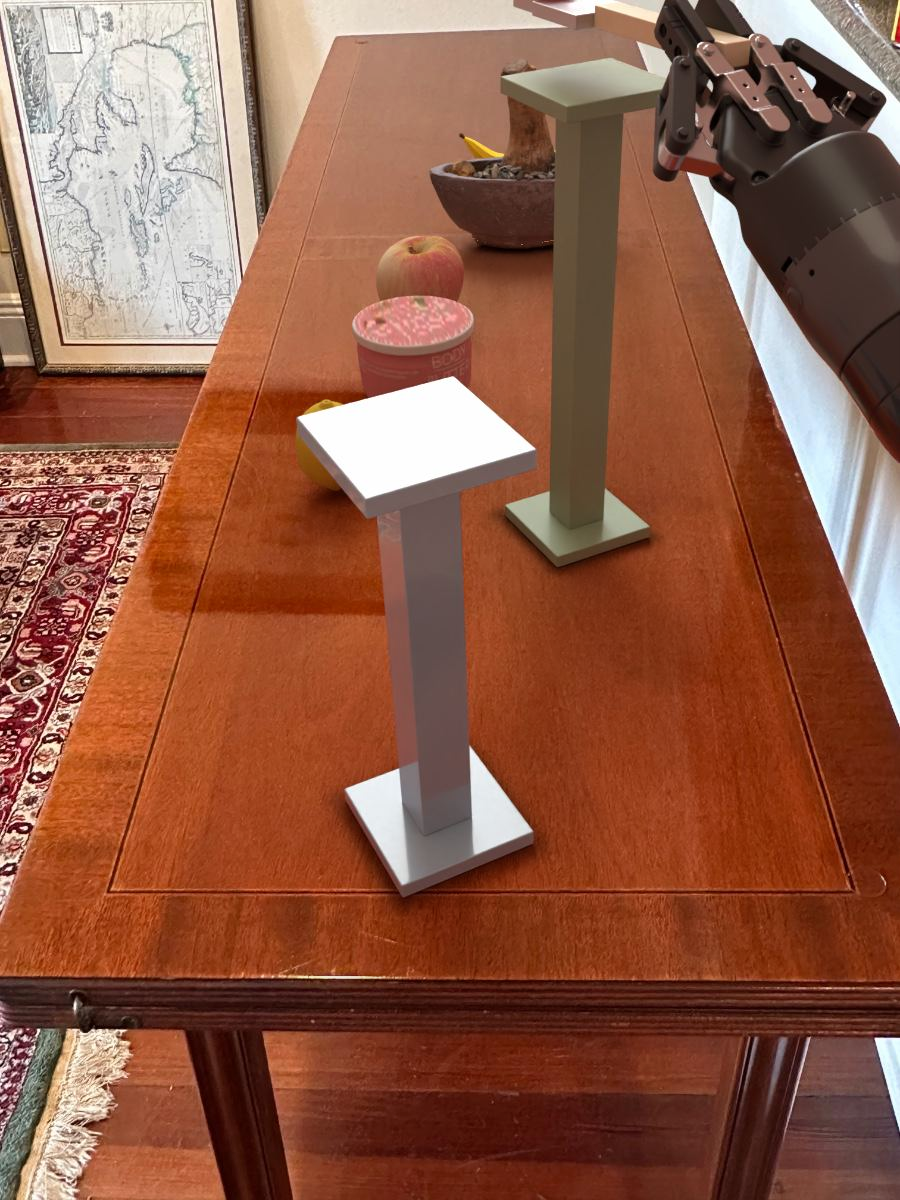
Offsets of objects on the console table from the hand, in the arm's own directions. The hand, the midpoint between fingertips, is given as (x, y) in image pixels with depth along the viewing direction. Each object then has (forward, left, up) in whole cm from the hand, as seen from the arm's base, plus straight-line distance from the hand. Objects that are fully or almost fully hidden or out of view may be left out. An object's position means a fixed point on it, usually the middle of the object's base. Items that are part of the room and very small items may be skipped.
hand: (684, 6), depth 61 cm
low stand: (-13, +22, -37) cm, 45 cm away
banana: (+81, -37, -38) cm, 97 cm away
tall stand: (+9, 0, -37) cm, 39 cm away
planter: (+62, -25, -38) cm, 77 cm away
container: (+33, +2, -38) cm, 50 cm away
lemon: (+23, +14, -38) cm, 46 cm away
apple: (+49, -6, -38) cm, 62 cm away
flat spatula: (+5, 0, -2) cm, 6 cm away
